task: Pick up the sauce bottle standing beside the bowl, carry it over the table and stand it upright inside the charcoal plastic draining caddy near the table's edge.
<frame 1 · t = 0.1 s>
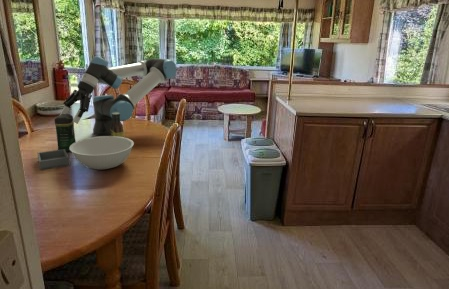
hand: (68, 120, 159), 15 cm above the table, tool tilted 35°, fingers open, 13 cm apart
coffee jar: (67, 150, 162), on the table
bowl: (104, 165, 145), on the table
draining caddy: (53, 163, 145), on the table
sauce bottle: (118, 150, 165), on the table
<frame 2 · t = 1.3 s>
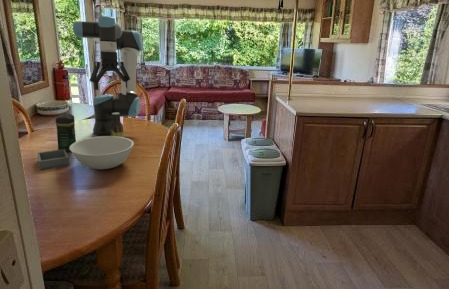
hand: (111, 95, 156), 29 cm above the table, tool pointing down, fingers open, 13 cm apart
nothing on the table moved.
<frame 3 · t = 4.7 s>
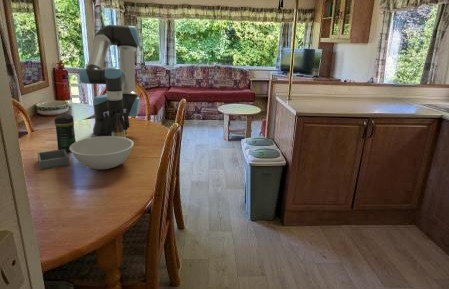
hand: (118, 142, 164), 4 cm above the table, tool pointing down, fingers closed on sauce bottle, 6 cm apart
sauce bottle: (118, 150, 165), on the table, touching gripper
everything else where it was.
when the fingers open (6 cm above the table, at t = 12.8 s): sauce bottle drops 2 cm, resting on draining caddy.
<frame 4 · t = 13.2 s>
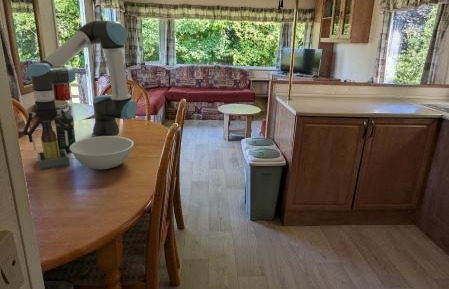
hand: (51, 146, 142), 8 cm above the table, tool pointing down, fingers open, 12 cm apart
sauce bottle: (52, 162, 144), point 1 cm above the table, touching draining caddy
everything else where it was.
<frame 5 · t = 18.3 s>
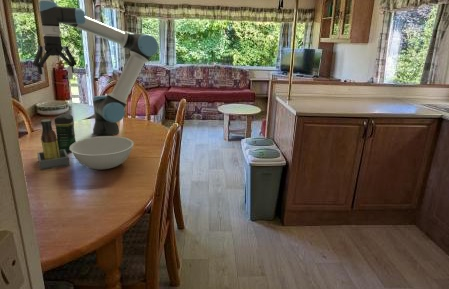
hand: (57, 80, 158), 35 cm above the table, tool pointing down, fingers open, 13 cm apart
nothing on the table moved.
at the end: sauce bottle inside the target area on the draining caddy (0.4 cm from its centre), point 0.6 cm above the draining caddy's base; sauce bottle tilted 0°; the gripper is holding nothing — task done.
